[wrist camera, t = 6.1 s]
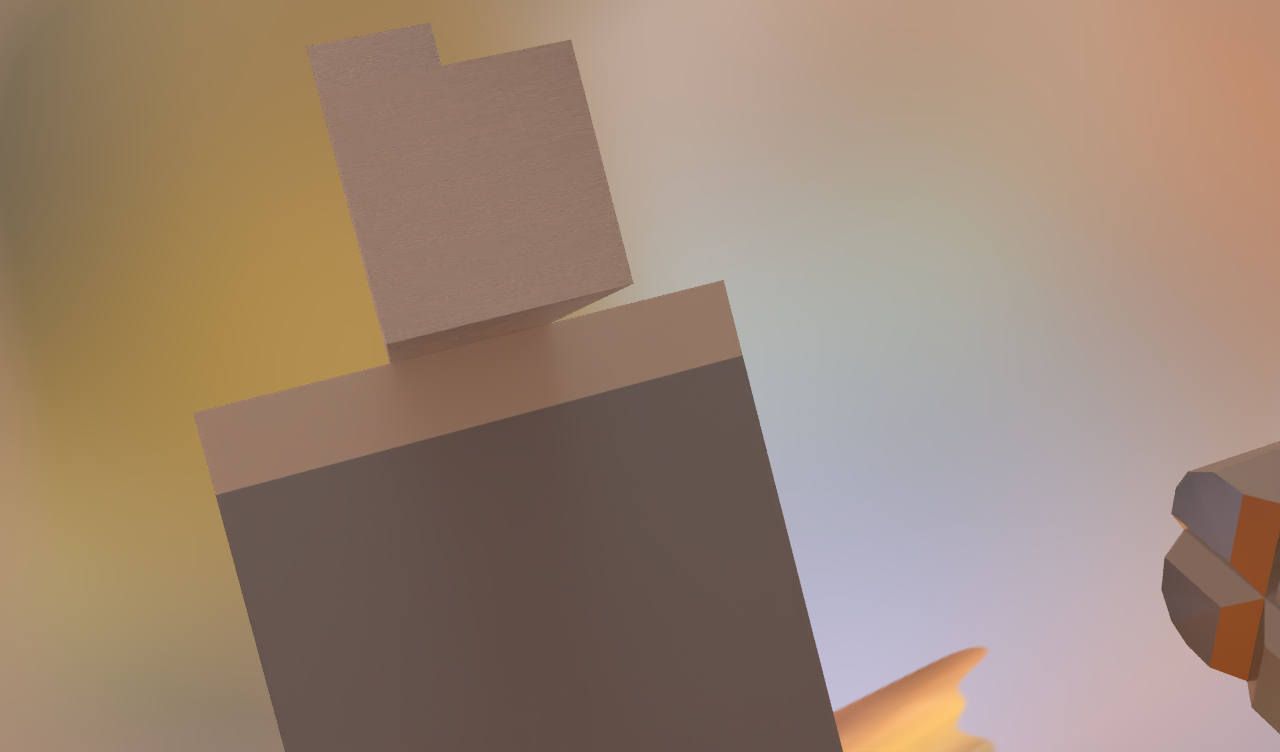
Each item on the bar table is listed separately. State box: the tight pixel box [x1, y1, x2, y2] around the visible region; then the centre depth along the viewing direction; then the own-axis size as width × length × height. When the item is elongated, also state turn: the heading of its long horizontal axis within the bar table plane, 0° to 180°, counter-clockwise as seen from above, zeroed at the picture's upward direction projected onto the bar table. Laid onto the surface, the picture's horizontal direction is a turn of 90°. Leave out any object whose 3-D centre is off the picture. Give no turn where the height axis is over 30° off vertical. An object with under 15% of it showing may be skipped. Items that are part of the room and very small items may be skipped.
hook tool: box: [306, 23, 633, 364], centre depth 22 cm, size 3×18×8 cm, turn 12°
